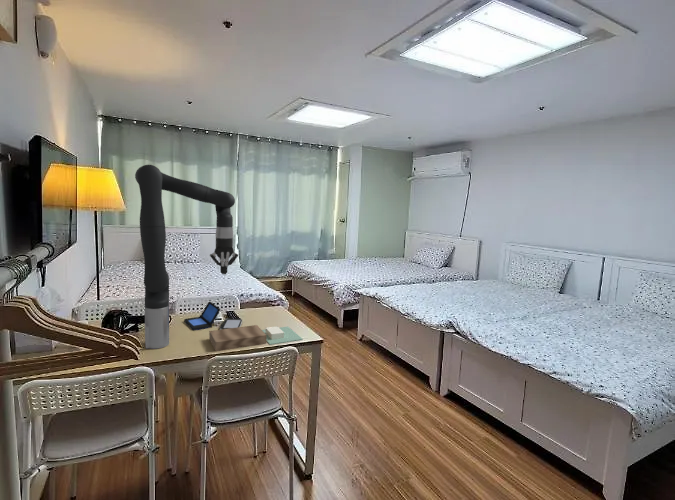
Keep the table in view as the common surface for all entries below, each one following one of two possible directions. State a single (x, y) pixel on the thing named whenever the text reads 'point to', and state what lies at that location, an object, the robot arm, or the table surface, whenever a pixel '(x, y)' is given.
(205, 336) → the table surface
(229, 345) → the block
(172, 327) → the table surface
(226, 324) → the gaming console
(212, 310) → the handheld game console
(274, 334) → the tile
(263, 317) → the table surface
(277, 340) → the mat
